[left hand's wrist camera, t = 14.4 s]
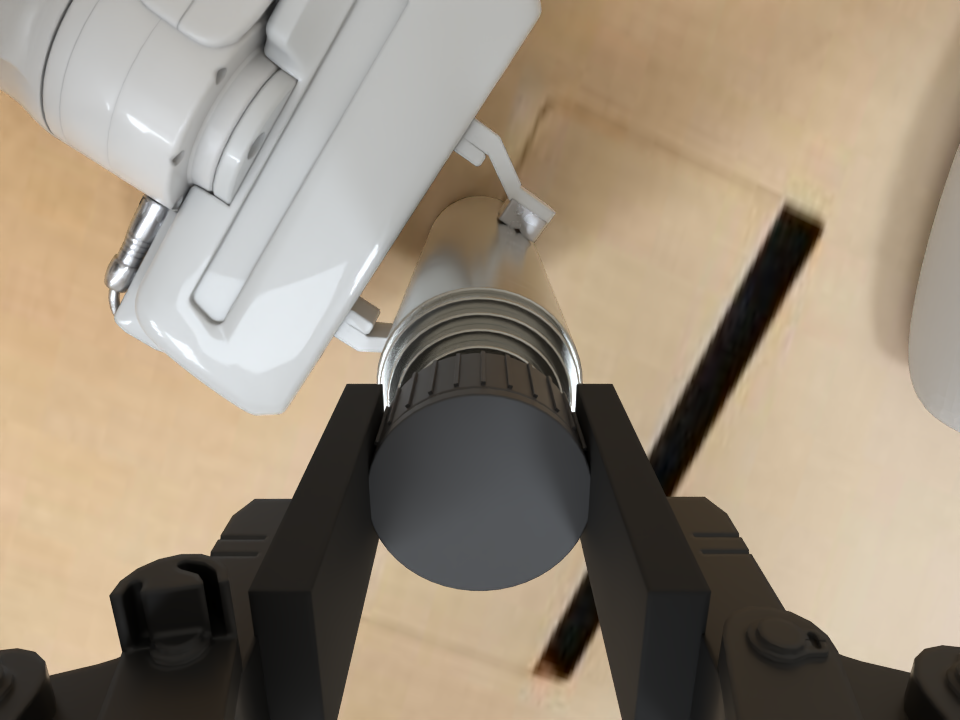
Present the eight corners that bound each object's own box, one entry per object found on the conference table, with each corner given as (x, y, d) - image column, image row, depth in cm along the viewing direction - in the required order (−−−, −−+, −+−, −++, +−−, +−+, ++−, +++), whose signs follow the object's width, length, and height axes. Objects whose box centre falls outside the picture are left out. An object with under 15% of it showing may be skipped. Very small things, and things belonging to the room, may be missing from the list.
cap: (470, 306, 14) (469, 342, 11) (621, 435, 15) (645, 490, 12) (338, 450, 15) (315, 506, 13) (487, 561, 16) (488, 630, 14)
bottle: (538, 291, 35) (629, 578, 14) (437, 306, 36) (373, 611, 14) (524, 187, 34) (604, 332, 12) (418, 204, 34) (311, 376, 12)
